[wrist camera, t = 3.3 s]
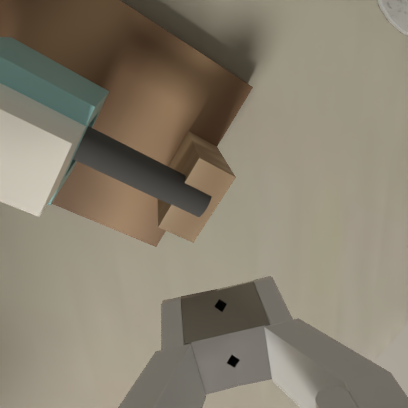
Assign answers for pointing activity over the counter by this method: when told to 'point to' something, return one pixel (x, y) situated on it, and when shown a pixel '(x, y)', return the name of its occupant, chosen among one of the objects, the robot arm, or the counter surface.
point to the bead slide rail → (139, 172)
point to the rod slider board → (136, 107)
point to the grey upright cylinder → (396, 13)
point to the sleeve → (40, 124)
